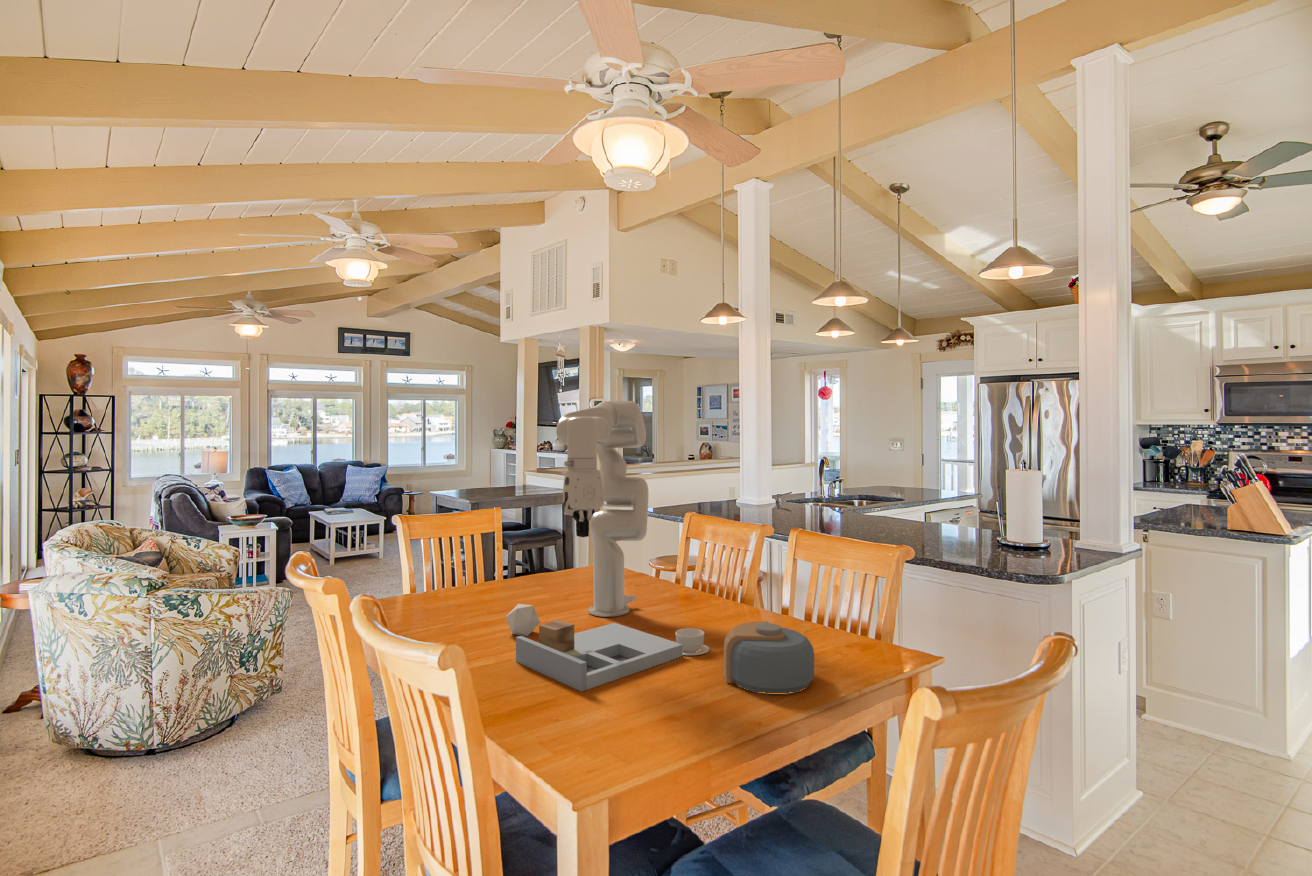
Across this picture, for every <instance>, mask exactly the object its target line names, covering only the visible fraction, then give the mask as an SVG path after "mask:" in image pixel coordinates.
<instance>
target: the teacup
mask: <svg viewBox="0 0 1312 876" xmlns="http://www.w3.org/2000/svg"><path fill="white" fill-rule="evenodd" d="M675 639H676V640H675V642H676V643H680V644H683V656H698V655H704V654H707V653H708V652H709V651H710V647H709V646H708V645H706V644H704V641H705V631H704V630H702V629H699V628H693V627H686V628H680V629H678V630H676V631H675ZM699 649H701V650H700V651H698V650H699ZM696 651H698V652H696Z"/></svg>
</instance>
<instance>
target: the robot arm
mask: <svg viewBox="0 0 1312 876" xmlns="http://www.w3.org/2000/svg"><path fill="white" fill-rule="evenodd" d="M555 432H556V438H557V439H558V441H559V442H560V443H561V444H563V445H567V451H566V452H567V455H566V456H567V457H566V458H567V460H566V461H564V463H563V465H564V466H565V467H567V468H566V469H567V470H565V474H564V479H563V487H562V506H563V508H564V511H563V514H564V515H567V516H570V517H571V518H572V519H573V521H574V522H575V532H576V536H577V537H580V538H587V537H589V536H590V534H591V538H592V539H591V540H592V552H593V553H592V556H593V557H592V558H593V561H592V562H593V567H592V568H593V570H592V571H593V572H592V573H593V576H592V577H593V579H592V580H593V605H590V606H589V608H588V613H589V614H590V615H592V616H595V617H602V618H603V617H604V618H606V617H607V618H610V617H612V618H613V617H619V616H620V617H621V616H623V615H627V614H628V613H629V612H630V606H628V604H629V603H631V602H635V601H636V599H637V596H636V595H635V594H631V595H627V594H625V554H624V552H623V549H622V548H621V546H620V545H619V544H618V542H621V541H622V542H639V541H642V540H644V539H645V538H646V535H647V530H648V513H649V512H648V511H649V487H648V486H649V485H648V483H647V481H646V480H645V479H644V478H642V477H637V476H627V468H628V466H627V461H626V460H625V459H624V457H623V456H622V455H621V453H620V452H619V451H618V450H616V449H623V448H624V449H627V448H628V449H638V448H641V447H643V446H644V445H645V443H646V442H647V441H646V440H647V429H646V425H645V422H644V416H643V413H642V410H641V408H640V406H639V405H638V404H637V402H635V401H633V400H607V401H601V402H599V403H598V404H596V405H594V406H593V407H590V408H586V409H581V410H577V411H571V412H568V413H565V414H564V415H562V416H561V417H560V418H559V420H558V422H557V424H556V430H555ZM598 461H599V469H598ZM603 506H604V507H609V508H612V509H601V508H602V507H603ZM615 508H631V509H615Z"/></svg>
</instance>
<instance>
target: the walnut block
mask: <svg viewBox="0 0 1312 876" xmlns="http://www.w3.org/2000/svg"><path fill="white" fill-rule="evenodd" d="M574 634H575V624H574V623H571V622H567V621H562V620H559V619H557V620H554V621H550V622H546V623H543V624H538V643H540V644H543V645H545V646H548V647H550V648H553V649H555V650H558V651H560V652H563V653H564V652H567V651H570V650H573V649H574Z"/></svg>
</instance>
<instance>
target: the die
mask: <svg viewBox="0 0 1312 876" xmlns="http://www.w3.org/2000/svg"><path fill="white" fill-rule="evenodd" d="M505 620H506V622H507V624H508V628H509V630H510V632H511V634H512V635H517V636H523V637H528V636H530V634H531V633H532V632H534V630H535V629H536V628H537V627H538V626H539V625H540V623H541V622H540V621H541V620H540V618H539V615H538V613H537V611H536V608H535V606H534V605H532V604H523V603H518V604H517V605H515V607H514V608H513V609H512V610H510V612H509V613H508V614H507V615H506V616H505Z"/></svg>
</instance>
